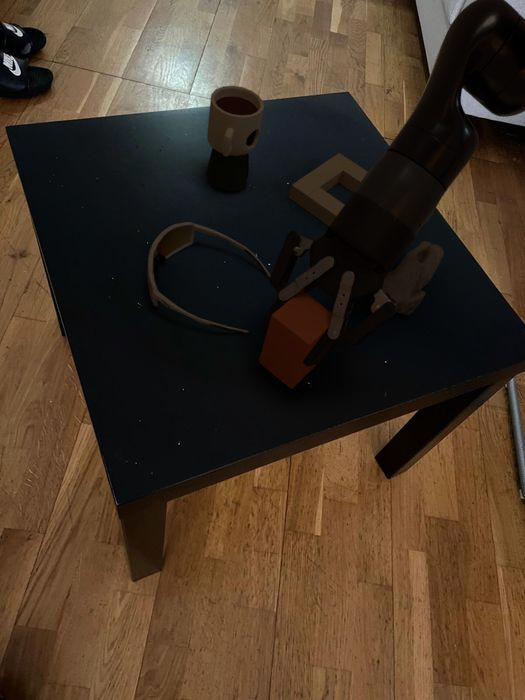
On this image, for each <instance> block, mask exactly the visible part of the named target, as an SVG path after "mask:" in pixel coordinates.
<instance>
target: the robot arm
mask: <svg viewBox="0 0 525 700" xmlns="http://www.w3.org/2000/svg"><path fill="white" fill-rule="evenodd" d="M463 90H464V91H465V92H466V93H467V94H468V95H470V96H471V97H472V98H473V99H474V100H475V101H476V102H478V103H479V104H480V105H481V106H482V107H483V108H485V109H486V110H487V111H488V112H489V113H491V114H492V115H493V116H496V117H499V118H500V117H503V118H507V117H513V116H517V115H519V114H522V113H524V112H525V17H524V16H523V15H521V14H520V12H518V11H517V10H516V8H514V7H513V6H512V5H511V4H510V3H509V2H507V0H474V1H473V2H470V3H469V4H468V5H466V6H465V7H464V8H463V9H462V10H461V11H460V12H459V13H458V14H457V15H456V17H455V19H454V20H453V21H452V23H451V24H450V26H449V28H448V30H447V31H446V34H445V36H444V38H443V40H442V43H441V45H440V46H439V50H438V53H437V55H436V58H435V60H434V64H433V67H432V69H431V72H430V74H429V77H428V79H427V82H426V84H425V87H424V89H423V91H422V93H421V95H420V98H419V99H418V101H417V103H416V106H415V107H414V109H413V111H412V112H411V114H410V116H409V118H408V119H407V120H406V122H405V123H404V125H403V126H402V127H401V129H400V130H399V131H398V133H397V134H396V135H395V137H394V139H393V140H392V142H391V143H390V144H389V146H388V148H387V149H386V150H385V152H384V153H383V154H382V155H381V156H380V158H378V160H377V161H376V162H375V163H374V164H373V165H372V166H371V167H370V168H369V170H367V172H368V173H367V174H366V175H365V177H364V178H363V180H362V181H361V183H360V184H359V185H358V187H357V188H356V190H355V191H354V192H352V193H351V195H350V197H348V199H347V201H346V202H345V203H344V207H343V208H342V209H341V211H340V212H339V214H338V215H337V216H336V218H335V219H334V221H333V222H332V224H331V225H330V226H328V227H327V229H326V231H325V232H324V234H322V235H321V236H319V237H318V238H316V239H314V240H312V239H309V238H307V237H304V236H303V235H301V234H299V233H298V232H296V231H295V230H292V231H289V232H287V235H286V237H285V240H284V242H283V245H282V247H281V249H280V252H279V254H278V257H277V259H276V262H275V264H274V266H273V268H272V272H271V274H270V275H271V276H270V277H269V281H268V282H269V284H270V286H272V287H273V289H274V290H275V292H276V294H277V295H276V299H275V301H274V302H273V303H272V305H271V306H270V307H269V308H268V310H267V312H266V313H265V315H264V316H263V317H262V321H261V323H262V324H263V326H262V328H261V330H262V331H263V332H264V333H266V334H267V330H268V327H269V323H270V320H271V316H272V314H274V313H275V312H276V311H277V310H278V309H280V308H281V307H282V306H283V305H284V304H285V303H287V302H288V301H289V300H290V299H291V298H293V297H294V296H295V295H297V294H298V293H300V292H301V291H304V292H305V293H307V294H308V293H310V292H312V291H313V290H317V291H320V292H323V293H324V294H325V295H326V296H327V298H328V299H329V300H331V301H332V302H333V303H334V305H333V308H332V311H331V312H332V319H331V322H330V325H329V329H328V332H327V333H326V334H323V335H322V336H321V338H320V339H319V340H318V342H317V343H316V344H315V346H314V347H313V349H312V350H311V351H310V353H309V354H308V355H307V357H306V358H305V359H304V361H303V363H304V364H305V365H306V366H312V365H313V364H314V365H316V366H318V365H320V364H321V363H323V362H324V361H325V359H326V358H327V357H328V355H329V354H330V353H331V351H332V350H334V349H333V348H334V347H335V346H336V344H338V343H339V342H341V343H344V344H347V345H348V346H357V345H359V344H360V343H362V342H363V341H364V340H366V339H367V338H368V337H369V336H370V335H372V334H373V333H374V332H376V330H378V329H379V328H381V326H383V325H384V324H385V323H387V322H388V321H389V320H390V319H391V318H393V317H394V316H395V315H396V314H397V313H398V307H397V305H396V304H395V303H393V302H391V300H390V299H389V298H388V297H387V296H386V295H385V293H384V292H383V291H382V288H383V282H384V279H385V277H386V275H387V274H388V272H391V271H392V268H393V267H394V266H395V265H396V263H397V262H398V261H399V259H400V258H401V256H402V255H403V254H404V253H405V251H406V250H407V249H408V247H409V246H410V245H411V243H412V242H413V241H414V239H415V238H416V237H417V236H418V234H420V233H421V232H422V231H423V229H424V228H425V226H426V224H427V222H428V221H429V220H430V218H431V217H432V216H433V213H434V212H435V210H436V209H437V207H438V205H439V203H440V202H441V200H442V198H443V197H444V196H445V194H446V192H447V191H448V190H449V188H450V187H451V185H452V184H453V183H454V182H455V180H456V179H457V178H458V176H459V175H460V173H461V172H462V171H463V169H465V167H466V166H467V165H468V163H469V162H470V161H471V159H472V158H473V157H474V155H475V153H476V151H477V150H478V148H479V145H480V137H479V134H478V131H477V129H476V128H475V126H474V125H473V123H472V122H471V120H470V119H469V116H468V115H467V114H466V112H465V110H464V108H463V105H462V92H463ZM308 251H309V269H307V270H306V271H304V272H303V273H302V274H301V275H299V276H297V277H296V278H295V279H294V281H292V282H291V283H289V281H290V278H291V275H292V273H293V271H294V267H295V266H296V263H297V261H298V258H302V257H304V256H305V254H306V253H307V252H308ZM373 297H374V302H373V303H372V305H371V306H370V311H371V314H370V315H369V316H367V317H366V318H365V319H364V320H362V322H360V323H359V324H357V325H356V327H354V328H353V329H352V330H348V329H347V326H348V324H349V320H350V318H351V316H352V313H353V309H354V306H355V303H357V302H360V301H364V300H366V299H369V298H373Z"/></svg>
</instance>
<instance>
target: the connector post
mask: <svg viewBox="0 0 525 700" xmlns="http://www.w3.org/2000/svg"><path fill="white" fill-rule="evenodd" d="M332 312H333V311H331V310H329V309H328V308H327V307H326V306H324V305H323V304H321V303H320V302H319V301H317V300H316V299H314V297H312V296H310V294H308V293H305V292H304V291H301V292H300V293H298V294H297V295H295V296H294V297H293V298H291V299H290V300H289V301H288V302H287V303H285V304H284V305H283V306H282V307H281V308H280V309H278V310H277V311H276V312H275V313H274V314H272V316H271V320H270V323H269V327H268V330H267V333H266V334H265V337H264V341H263V345H262V349H261V352H260V355H259V359H258V363H259V364H260V365H261V366H262V367H264V368H265V370H267V371H268V372H270V373H271V374H272V375H273V376H274V377H276V378H277V379H278V380H279V381H281V382H282V383H283V384H284V385H285V386H287V387H288V388H289V389H290V390H292V389H294V388H295V387H296V386H297V385H298V384H299V383H300V382H301V381H302V380H303V379H304V378H305V377H306V376H307V375H308V374H309V373H310V372H311V371H312V370H313V369H314V368H315V367H316V366H317V365H314V364H313V365H312V366H306V365H305V364H304V363H303V361H304V359H305V358H306V357H307V355H308V354H309V353H310V351H311V350H312V349H313V347H314V346H315V344H316V343H317V342H318V340H319V339H320V338H321V336H322V335H323V334H326V333H327V332H328V329H329V325H330V322H331V319H332Z"/></svg>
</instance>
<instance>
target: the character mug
mask: <svg viewBox="0 0 525 700" xmlns="http://www.w3.org/2000/svg"><path fill="white" fill-rule="evenodd" d="M264 109H265V104H264V100H263V99H262V98H261V97H260V95H259V94H257V93H256V92H254V91H253V90H251V89H248V88H246V87H243V86H237V85H224V86H220V87H218V88H216V89H214V90H213V92H211V94H210V102H209V113H208V124H207V135H206V137H207V138H206V139H207V142H208V144H209V146H210V147H211V151H210V156H209V160H208V163H207V167H206V173H205V176H206V179H207V181H208V182H209V183H210V184H211V185H213V186H214V187H216V188H219V189H221V190H224V191H229V192H236V191H241V190H242V189H244V188H245V187H246V186H247V183H248V182H247V181H248V179H249V169H250V157H249V156H250V153H252V152H254V151H255V150H256V148H257V146H258V143H259V142H258V141H259V138H260V133H261V126H262V121H263V115H264Z"/></svg>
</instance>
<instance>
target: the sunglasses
mask: <svg viewBox="0 0 525 700" xmlns="http://www.w3.org/2000/svg"><path fill="white" fill-rule="evenodd" d="M196 232H198V233H201V234H204V235H205V236H212V237H213V236H214V237H218V238H220V239H223V240H225V241H226V242H229V243H230V244H231V245H233V246H234V247H236V248H237V249H239V250H241V251H243V252H245V254H247V255H248V256H249V257H250V258H251V259H252V260H253V261H255V262H256V264H257V266H259V268H260V269H261V270H262V271H263V273H264V275H265V276H266V277H268V278H270V276H271V274H270V272H269V270H268V269H267V268H266V266H265V265H264V264H263V262H262V261H261V260H260V259H259V257H258V256H257V255H255V254H254V252H253V251H252V250H250V249H249V248H248V247H247V246H245V245H243V244H241V243H240V242H238V241H237V240H235V239H232V238H231V237H229V236H227V235H225V234H223V233H221V232H219V231H217V230H214V229H212V228H210V227H206V226H203V225H201V224H198V223H194V222H192V221H185V222H179V223H174V224H172V225H170V226H168V227H166V228H165V229H164V230H163V231H161V232H160V233H159V234H158V236H156V238H154V241H153V242H152V244H151V247H150V249H149V253H148V259H147V268H146V278H147V287H148V291H149V292H148V293H149V296H150V301H151V302H152V304H153V306H154V307H157V308H158V307H159V303H158V302H160V303H161V304H162V305H164V307H166V308H167V309H170V310H173V311H176V312H177V313H179V314H182V315H184V316H186V317H188V318H190V319H192V320H194V321H195V322H197V323H199V324H203V325H206V326H210V327H212V328H217V329H221V330H223V331H229V332H234V333H237V334H247V333H249V330H247V329H241V328H237V327H233V326H228V325H225V324H221V323H217V322H214V321H212V320H207V319H205V318H202V317H199V316H196V315H195V314H192V313H190V312H188V311H187V310H185V309H183V308H181V307H180V306H178V305H176V303H174V302H173V301H171V299H169V298H167V297H166V296H165V295H164V294H162V293H161V292H160V291H159V290H158V286H157V284H156V282H155V275H158V274H159V273H160V268H159V267H160V266H159V263H158V260H159V261H160V262H166V261H167V260H168V259H169V258H170V257H171V256H173V255H175V254H176V253H178V252H180V251H181V250H184V249H185V248H187V247H190V246H192V245H193V244H194V239H195V233H196Z"/></svg>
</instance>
